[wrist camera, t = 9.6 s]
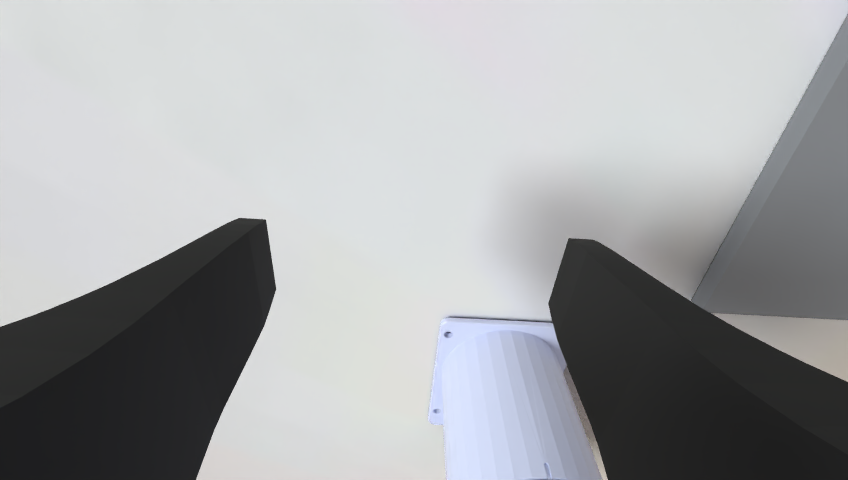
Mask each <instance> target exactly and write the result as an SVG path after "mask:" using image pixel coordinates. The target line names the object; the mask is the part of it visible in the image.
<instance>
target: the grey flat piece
mask: <svg viewBox="0 0 848 480" xmlns="http://www.w3.org/2000/svg"><path fill="white" fill-rule="evenodd" d="M692 302H693V303H694V304H696V305H698V306H699V307H701V308H703V309H704V310H706V311H708V312H709V313H725V314H743V315H762V316H781V317H799V318H818V319H837V320H848V15H847V17H846V19H845V21H844V23H843V24H842V26H841V28H840V30H839V32H838V34H837V35H836V37H835V39H834V41H833V43H832V44H831V46H830V48H829V50H828V52H827V54H826V55H825V57H824V59H823V61H822V63H821V65H820V66H819V68H818V70H817V72H816V74H815V76H814V77H813V79H812V81H811V83H810V85H809V86H808V88H807V90H806V92H805V94H804V96H803V97H802V99H801V101H800V103H799V105H798V107H797V108H796V110H795V112H794V114H793V116H792V117H791V119H790V121H789V123H788V125H787V127H786V128H785V130H784V132H783V134H782V136H781V138H780V139H779V141H778V143H777V145H776V147H775V149H774V150H773V152H772V154H771V156H770V158H769V159H768V161H767V163H766V165H765V167H764V169H763V170H762V172H761V174H760V176H759V178H758V180H757V181H756V183H755V185H754V187H753V189H752V190H751V192H750V194H749V196H748V198H747V200H746V201H745V203H744V205H743V207H742V209H741V211H740V212H739V214H738V216H737V218H736V220H735V221H734V223H733V225H732V227H731V229H730V231H729V232H728V234H727V236H726V238H725V240H724V242H723V243H722V245H721V247H720V249H719V251H718V253H717V254H716V256H715V258H714V260H713V262H712V263H711V265H710V267H709V269H708V271H707V273H706V274H705V276H704V278H703V280H702V282H701V284H700V285H699V287H698V289H697V291H696V293H695V294H694V296H693V298H692Z"/></svg>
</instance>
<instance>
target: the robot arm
mask: <svg viewBox="0 0 848 480" xmlns="http://www.w3.org/2000/svg"><path fill="white" fill-rule="evenodd" d="M275 291H276V285H275V279H274V272H273V265H272V258H271V251H270V245H269V238H268V231H267V224H266V220H263V219H247V218H238V219H236V220H233V221H231V222H229V223H227V224H225V225H223V226H221V227H219V228H217V229H215V230H213V231H211V232H210V233H208V234H206V235H204V236H202V237H200V238H199V239H197V240H195V241H193V242H191V243H189V244H187V245H186V246H184V247H182V248H180V249H178V250H176V251H174V252H172V253H171V254H169V255H167V256H165V257H163V258H161V259H159V260H157V261H155V262H153V263H151V264H149V265H147V266H145V267H143V268H141V269H139V270H137V271H135V272H133V273H131V274H129V275H127V276H125V277H123V278H121V279H119V280H117V281H115V282H112V283H110V284H108V285H106V286H104V287H101V288H99V289H97V290H95V291H92V292H90V293H88V294H86V295H83V296H81V297H78V298H76V299H73V300H71V301H69V302H66V303H64V304H61V305H59V306H56V307H54V308H51V309H49V310H46V311H44V312H41V313H38V314H36V315H33V316H30V317H28V318H25V319H22V320H19V321H16V322H13V323H10V324H7V325H5V326H2V327H0V480H196V478H197V475H198V472H199V470H200V467H201V464H202V461H203V459H204V456H205V453H206V451H207V448H208V445H209V443H210V440H211V437H212V435H213V432H214V429H215V427H216V425H217V422H218V420H219V418H220V416H221V413H222V411H223V409H224V407H225V405H226V403H227V401H228V399H229V397H230V395H231V393H232V391H233V389H234V387H235V385H236V383H237V381H238V378H239V376H240V374H241V372H242V370H243V368H244V366H245V364H246V362H247V360H248V358H249V356H250V354H251V352H252V350H253V348H254V346H255V344H256V342H257V340H258V338H259V336H260V333H261V331H262V329H263V327H264V325H265V322H266V319H267V316H268V313H269V310H270V307H271V304H272V301H273V297H274V294H275ZM548 304H549V308H550V313H551V317H552V322H553V323H545V322H525V321H506V320H486V319H467V318H445V319H443V320H442V321H441V323H440V330H439V337H438V345H437V352H436V360H435V368H434V375H433V383H432V390H431V398H430V406H429V413H428V421H429V422H430V423H431V424H435V425H443V430H444V449H445V468H446V480H603V479H602V476H601V474H600V471H599V468H598V466H597V463H596V460H595V457H594V455H593V452H592V449H591V447H590V444H589V441H588V439H587V436H586V433H585V431H584V428H583V425H582V423H581V420H580V417H579V415H578V412H577V409H576V407H575V404H574V401H573V399H572V396H571V393H570V391H569V388H568V385H567V383H566V380H565V377H564V375H563V373H564V371H565V368H566V365H567V367H568V369H569V372H570V374H571V376H572V379H573V381H574V384H575V386H576V389H577V391H578V394H579V396H580V399H581V401H582V404H583V406H584V409H585V411H586V414H587V416H588V419H589V421H590V424H591V426H592V429H593V432H594V435H595V438H596V440H597V443H598V447H599V450H600V453H601V457H602V460H603V464H604V467H605V471H606V474H607V478H608V480H848V382H846V381H844V380H842V379H840V378H837V377H835V376H833V375H831V374H829V373H826V372H824V371H822V370H820V369H817V368H815V367H813V366H811V365H809V364H806V363H804V362H802V361H800V360H798V359H796V358H794V357H792V356H790V355H788V354H786V353H783V352H781V351H779V350H777V349H775V348H774V347H772V346H770V345H768V344H766V343H764V342H762V341H760V340H758V339H756V338H754V337H752V336H750V335H749V334H747V333H745V332H743V331H741V330H739V329H737V328H735V327H734V326H732V325H730V324H728V323H726V322H725V321H723V320H721V319H719V318H718V317H716V316H714V315H713V314H711V313H709V312H708V311H706V310H704V309H703V308H701V307H699V306H698V305H696V304H694V303H693V302H691V301H689V300H688V299H686V298H685V297H683V296H681V295H680V294H678V293H677V292H675V291H673V290H672V289H670V288H669V287H667V286H666V285H664V284H663V283H661V282H660V281H658V280H656V279H655V278H653V277H652V276H650V275H649V274H647V273H646V272H644V271H643V270H641V269H640V268H638V267H637V266H635V265H634V264H632V263H631V262H629V261H628V260H626V259H625V258H623V257H622V256H620V255H619V254H617V253H616V252H614V251H612V250H611V249H609V248H608V247H606V246H604V245H602V244H601V243H599V242H597V241H595V240H588V239H571V238H569V239H568V242H567V245H566V249H565V252H564V255H563V258H562V262H561V265H560V268H559V271H558V274H557V278H556V281H555V284H554V287H553V291H552V294H551V297H550V300H549V303H548ZM448 331H449V332H450V333H445V332H448Z"/></svg>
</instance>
